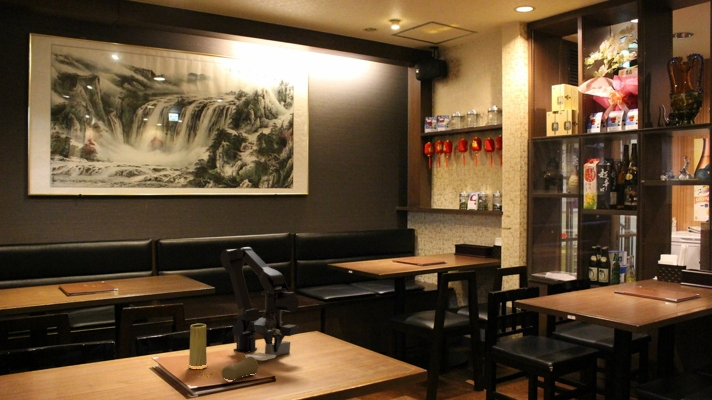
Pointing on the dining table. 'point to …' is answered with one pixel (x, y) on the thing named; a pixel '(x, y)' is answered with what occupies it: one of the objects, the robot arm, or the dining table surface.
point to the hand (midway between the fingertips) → (272, 351)
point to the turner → (271, 351)
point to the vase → (198, 345)
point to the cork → (240, 369)
